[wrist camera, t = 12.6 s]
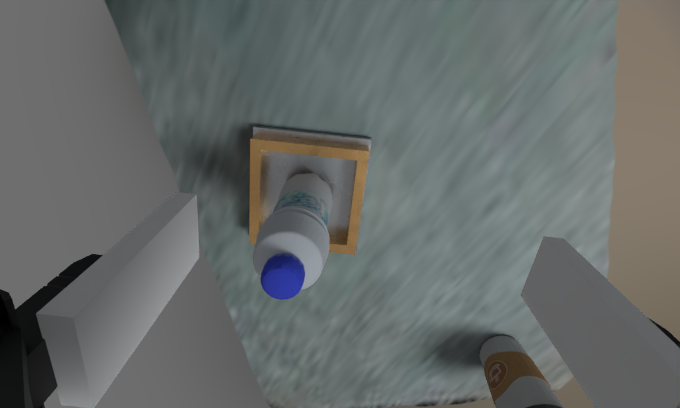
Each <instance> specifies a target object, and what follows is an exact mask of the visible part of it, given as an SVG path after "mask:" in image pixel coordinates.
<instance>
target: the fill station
mask: <svg viewBox="0 0 680 408" xmlns="http://www.w3.org/2000/svg"><path fill="white" fill-rule="evenodd" d="M371 141H372V139H371V138H370V137H361V136H352V135H342V134H333V133H324V132H315V131H306V130H296V129H287V128H278V127H269V126H259V125H255V126H254V127H253V137H252V138H250V214H249V244H256V238H257V234H258V231H259V229H260V227H261V226H262V225H263V223H264V221H265V220H266V219H267V218H268V217H269V216H270V215H271V214H272V213H273V211H274V208H275V206H276V204H277V202H278V198H279V195H280V192H281V190H282V188H283V186H284V185H285V183H286V182H287V181H288V180H289V179H290V178H291V177H293V176H294V175H297V174H309V173H314V174H316V175H318V176H319V177H320V178H321V179H322V180H323V181H325V182H326V183H328V185H329V186H330V189H331V193H332V208H331V212H330V215H329V221H328V229H327V230H328V233H329V252H334V253H344V254H354V255H355V252H356V250H357V243H358V235H359V228H360V221H361V214H362V207H363V199H364V192H365V185H366V178H367V170H368V163H369V156H370V149H371Z"/></svg>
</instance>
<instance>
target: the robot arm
mask: <svg viewBox="0 0 680 408" xmlns="http://www.w3.org/2000/svg"><path fill="white" fill-rule="evenodd" d="M198 259H199V240H198V217H197V194H189V193H180V192H175V193H174V194H173V195H172V196H171V197H169V198H168V199H167V200H166V201H165V202H164V203H163V204H161V205H160V206H159V207H158V208H157V209H156V210H154V211H153V212H152V213H151V214H150V215H149V216H148V217H146V218H145V219H144V220H143V221H142V222H141V223H140V224H138V225H137V226H136V227H135V228H134V229H133V230H131V231H130V232H129V233H128V234H127V235H126V236H125V237H124V238H122V239H121V240H120V241H119V242H118V243H116V245H114V246H113V247H112V248H111V249H110V250H108V251H107V252H106V253H105V254H104V255H96V254H91V255H89V256H87V257H85V258H83V259H81V260H79V261H76V262H74V263H73V264H71V265H70V266H69V267H68V268H66V269H65V270H64V271H63V272H61V273H60V274H59V277H55V278H54V279H53V280H51V281H50V282H49V283H48V285H47V286H44V287H43V288H41V289H40V290H39V291H38V292H36V293H35V294H34V295H33V296H32V297H30V298H29V299H28V300H27V301H25V302H24V303H23V304H22V305H20V306H19V307H18V308H17V309H15V308H14V304H13V301H12V298H11V296H10V295H9V293H8V292H6V291H3V290H0V408H45V406H44V402H45V401H46V399H47V398H48V397H49V396H50V395H51V393H52V392H53V391H54V390H55V389H56V388H57V392H58V396H59V399H60V403H61V405H65V406H75V407H84V408H94V407H95V406H96V405H97V403H98V402H99V400H100V399H101V397H102V396H103V395H104V393H105V392H106V390H107V389H108V387H109V386H110V385H111V383H112V382H113V380H114V379H115V377H116V376H117V375H118V373H119V372H120V370H121V369H122V367H123V366H124V365H125V363H126V362H127V360H128V359H129V357H130V356H131V355H132V353H133V352H134V350H135V349H136V347H137V346H138V344H139V343H140V342H141V340H142V339H143V337H144V336H145V334H146V333H147V332H148V330H149V328H150V327H151V326H152V324H153V323H154V321H155V320H156V319H157V317H158V316H159V314H160V313H161V311H162V310H163V309H164V307H165V306H166V304H167V303H168V302H169V300H170V299H171V297H172V296H173V294H174V293H175V291H176V290H177V288H178V287H179V286H180V284H181V283H182V281H183V280H184V278H185V277H186V276H187V274H188V273H189V271H190V270H191V269H192V267H193V266H194V264H195V263H196V261H197V260H198ZM521 296H522V298H523V299H524V301H525V302H526V304H527V305H528V307H529V308H530V310H531V311H532V313H533V314H534V316H535V317H536V319H537V320H538V322H539V324H540V325H541V327H542V328H543V330H544V331H545V333H546V334H547V336H548V337H549V339H550V340H551V342H552V343H553V345H554V346H555V348H556V349H557V351H558V352H559V354H560V355H561V357H562V358H563V360H564V361H565V363H566V364H567V366H568V367H569V369H570V370H571V372H572V373H573V375H574V377H575V378H576V379H577V381H578V382H579V384H580V386H581V387H582V389H583V390H584V392H585V393H586V394H587V396H588V398H589V399H590V401H591V402H592V404H593V405H594V407H595V408H680V342H679V341H678V340H677V339H676V338H675V337H674V336H673V335H672V334H671V333H670V332H668V331H667V330H666V329H664V328H663V327H661V326H660V325H658V324H657V323H655V322H654V321H652V320H651V319H649V318H647V317H646V316H645V315H644V314H643V313H642V312H640V310H639V309H638V308H637V307H635V305H633V304H632V303H631V302H630V301H629V300H628V299H627V298H626V297H625V296H624V295H623V294H622V293H621V292H620V291H619V290H617V288H615V287H614V286H613V285H612V284H611V283H610V282H609V281H608V280H607V279H606V278H605V277H604V276H603V275H602V274H601V273H600V272H598V271H597V270H596V269H595V268H594V267H593V266H592V265H591V264H590V263H589V262H588V261H587V260H586V259H585V258H584V257H583V256H581V255H580V254H579V253H578V252H577V251H576V250H575V249H574V248H573V247H572V246H571V245H570V244H569V243H568V242H567V241H566V240H564V239H562V238H553V237H545V236H544V237H543V240H542V242H541V245H540V247H539V250H538V253H537V255H536V258H535V260H534V263H533V265H532V268H531V270H530V273H529V275H528V278H527V280H526V283H525V285H524V288H523V290H522V293H521Z"/></svg>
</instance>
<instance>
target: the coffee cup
mask: <svg viewBox="0 0 680 408" xmlns="http://www.w3.org/2000/svg"><path fill="white" fill-rule="evenodd" d="M480 360H481V363H482V366H483V369H484V372H485V377H486V380H487V383H488V386H489V389H490V392H491V395H492V398H493V401H494V404H495V406H496V408H564V406H563V405H562V404H561V402H560V401H559V400H558V398H557V396H556V395H555V394H554V392H553V390H552V389H551V387H550V385H549V384H548V382H547V381H546V379H545V378H544V376H543V375H542V374H541V372H540V371H539V369H538V368H537V366H536V365H535V364H534V362H533V361H532V359H531V358H530V357H529V356H528V354H527V353H526V351H525V350H524V349H523V347H522V346H521V344H520V343H519V342H518V341H516V340H515V339H513V338H511V337H509V336H495V337H492V338H490V339H488V340H487V341H486V342H485V343H484V344H483V345H482V347H481V350H480Z"/></svg>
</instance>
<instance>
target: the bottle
mask: <svg viewBox="0 0 680 408" xmlns="http://www.w3.org/2000/svg"><path fill="white" fill-rule="evenodd" d="M331 208H332V193H331V189H330V186H329V185H328V183H326V182H325V181H323V180H322V179H321V178H320V177H319V176H318V175H316V174H314V173H309V174H297V175H294V176H293V177H291V178H290V179H289V180H288V181H287V182H286V183H285V185H284V186H283V188H282V190H281V192H280V195H279V198H278V202H277V204H276V206H275V208H274V211H273V213H272V214H271V215H270V216H269V217H268V218H267V219H266V220H265V221H264V223H263V225H262V226H261V227H260V229H259V231H258V234H257V238H256V245H255V250H254V255H253V264H254V268H255V270H256V272H257V274H258V276H259V277H260V278H261V284H262V287H263V289H264V291H265V292H266V293H267V294H268V295H270V296H271V297H273V298H276V299H289V298H292V297H294V296H295V295H296V294H298V293H299V291H300V290H303V289H305V288H308V287H310V286H311V285H312V284H313V283H315V281H316V280H317V279H318V278H319V276H320V274H321V272H322V269H323V267H324V264H325V261H326V259H327V257H328V254H329V233H328V230H327V229H328V221H329V215H330V212H331Z"/></svg>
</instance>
